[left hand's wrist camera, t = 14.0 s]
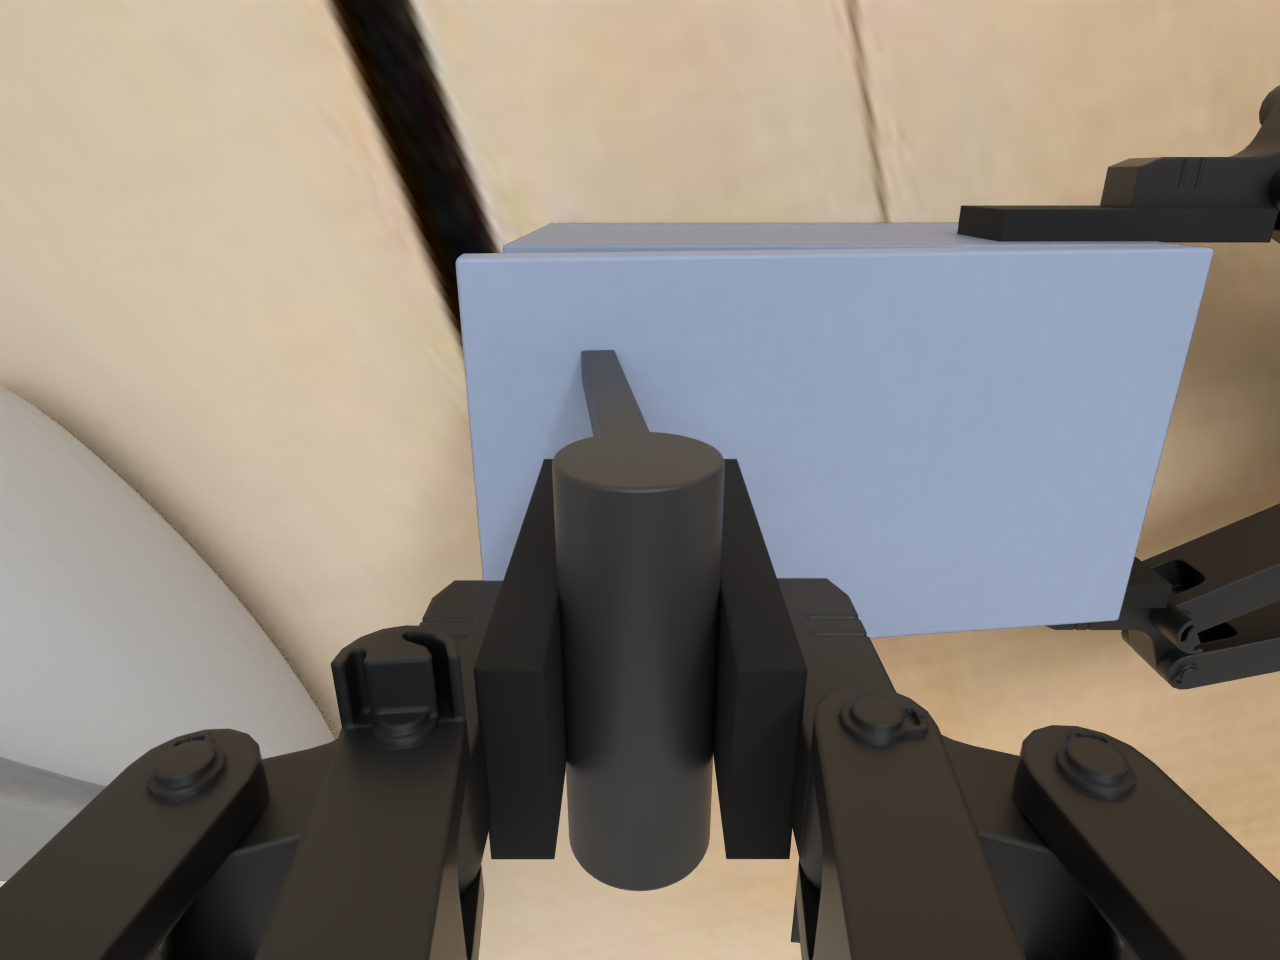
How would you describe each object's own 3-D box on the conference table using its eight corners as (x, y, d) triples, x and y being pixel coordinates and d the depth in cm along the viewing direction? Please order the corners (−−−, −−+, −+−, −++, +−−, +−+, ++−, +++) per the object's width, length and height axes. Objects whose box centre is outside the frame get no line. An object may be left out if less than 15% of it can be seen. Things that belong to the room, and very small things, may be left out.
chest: (560, 477, 30) (525, 598, 21) (549, 223, 27) (502, 245, 18) (965, 478, 30) (1094, 600, 21) (1007, 222, 26) (1181, 244, 18)
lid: (492, 642, 19) (456, 1001, 11) (460, 253, 16) (371, 338, 7) (1093, 601, 21) (1459, 881, 13) (1180, 244, 18) (1761, 304, 9)
